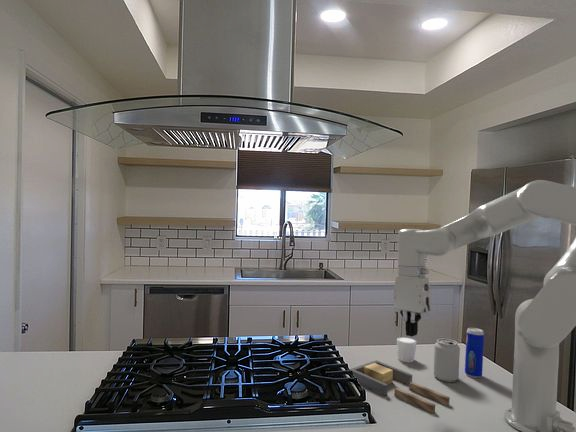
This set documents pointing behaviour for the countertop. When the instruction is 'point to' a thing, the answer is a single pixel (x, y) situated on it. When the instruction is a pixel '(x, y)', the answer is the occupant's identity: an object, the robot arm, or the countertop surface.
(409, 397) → the chute
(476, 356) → the beverage can
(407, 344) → the white tapered cylinder
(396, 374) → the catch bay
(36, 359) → the countertop surface
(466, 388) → the countertop surface
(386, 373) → the ochre block
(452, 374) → the can
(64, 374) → the countertop surface
